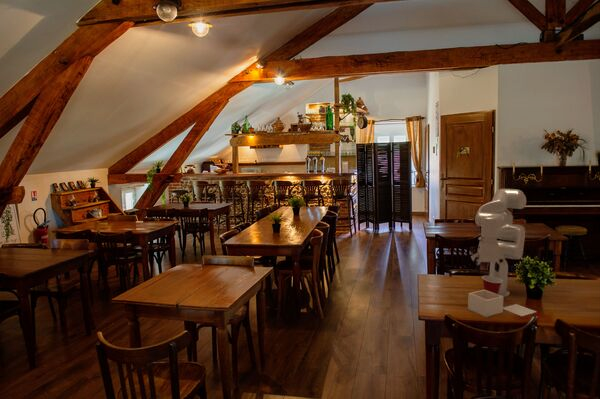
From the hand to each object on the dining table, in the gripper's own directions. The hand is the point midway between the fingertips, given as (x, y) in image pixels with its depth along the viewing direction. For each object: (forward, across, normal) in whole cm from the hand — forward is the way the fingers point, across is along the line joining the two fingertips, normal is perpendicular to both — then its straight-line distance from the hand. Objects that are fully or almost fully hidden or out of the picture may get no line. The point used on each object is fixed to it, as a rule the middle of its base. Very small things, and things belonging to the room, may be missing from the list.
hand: (487, 271), depth 224 cm
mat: (+22, +17, -1) cm, 28 cm away
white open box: (+22, -1, -1) cm, 22 cm away
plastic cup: (+22, +10, +17) cm, 30 cm away
